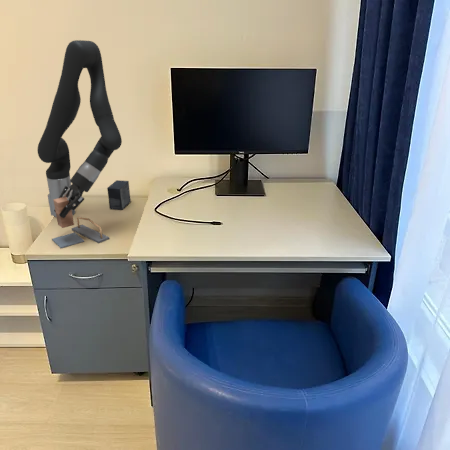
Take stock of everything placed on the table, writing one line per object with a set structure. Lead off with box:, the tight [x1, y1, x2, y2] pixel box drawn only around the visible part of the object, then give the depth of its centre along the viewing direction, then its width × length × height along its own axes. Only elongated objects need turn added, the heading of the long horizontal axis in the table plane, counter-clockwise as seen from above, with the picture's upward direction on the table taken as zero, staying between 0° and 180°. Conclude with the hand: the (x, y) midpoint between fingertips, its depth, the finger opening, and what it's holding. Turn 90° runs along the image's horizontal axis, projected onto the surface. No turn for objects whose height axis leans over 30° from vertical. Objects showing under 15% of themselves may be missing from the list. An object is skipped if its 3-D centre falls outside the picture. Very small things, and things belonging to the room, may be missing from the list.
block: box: [53, 197, 75, 229], centre depth 159 cm, size 4×4×10 cm
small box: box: [106, 180, 132, 211], centre depth 195 cm, size 11×6×10 cm, turn 170°
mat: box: [51, 231, 85, 249], centre depth 164 cm, size 9×9×1 cm
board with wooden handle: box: [71, 216, 110, 244], centre depth 168 cm, size 5×18×7 cm, turn 51°
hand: (58, 214), depth 158 cm, fingers closed on block, 4 cm apart
